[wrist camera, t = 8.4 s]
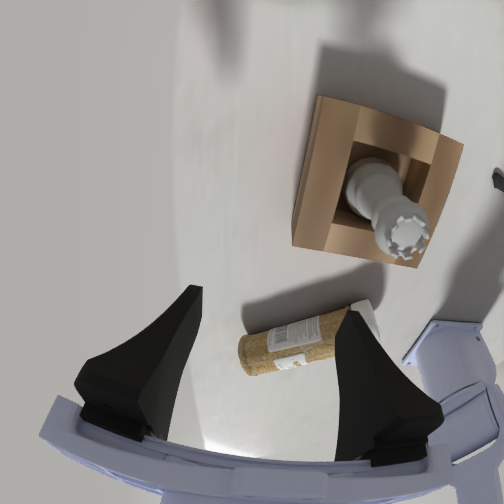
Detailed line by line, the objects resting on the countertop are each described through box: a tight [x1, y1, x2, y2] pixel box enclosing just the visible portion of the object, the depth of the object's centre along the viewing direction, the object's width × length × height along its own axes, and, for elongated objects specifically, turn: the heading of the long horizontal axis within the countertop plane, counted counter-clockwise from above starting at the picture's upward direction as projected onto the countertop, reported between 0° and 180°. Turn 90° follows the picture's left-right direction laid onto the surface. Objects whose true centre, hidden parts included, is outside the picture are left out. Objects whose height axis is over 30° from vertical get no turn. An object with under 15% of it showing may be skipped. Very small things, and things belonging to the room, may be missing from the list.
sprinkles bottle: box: [238, 299, 380, 376], centre depth 26 cm, size 5×5×14 cm
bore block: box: [291, 95, 464, 268], centre depth 18 cm, size 10×10×4 cm
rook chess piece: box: [342, 157, 430, 260], centre depth 16 cm, size 4×4×8 cm
